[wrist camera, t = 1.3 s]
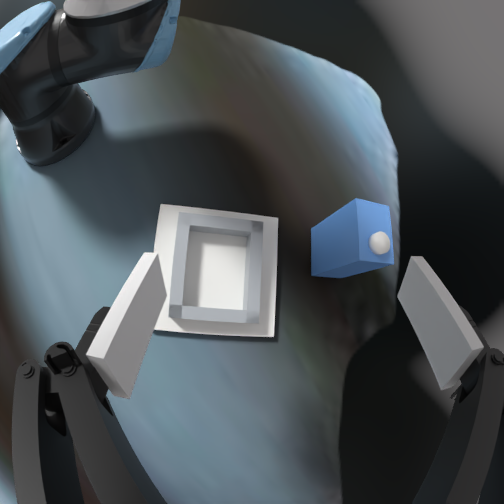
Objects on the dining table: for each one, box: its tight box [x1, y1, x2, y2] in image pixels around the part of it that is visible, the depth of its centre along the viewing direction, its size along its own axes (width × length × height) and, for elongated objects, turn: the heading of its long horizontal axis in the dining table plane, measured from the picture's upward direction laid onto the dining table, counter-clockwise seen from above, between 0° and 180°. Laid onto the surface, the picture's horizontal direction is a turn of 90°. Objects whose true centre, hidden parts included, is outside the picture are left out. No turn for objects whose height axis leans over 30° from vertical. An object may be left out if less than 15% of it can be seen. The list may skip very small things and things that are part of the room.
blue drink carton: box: [311, 198, 394, 278], centre depth 34 cm, size 7×5×13 cm
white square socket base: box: [154, 204, 278, 337], centre depth 34 cm, size 16×16×4 cm
